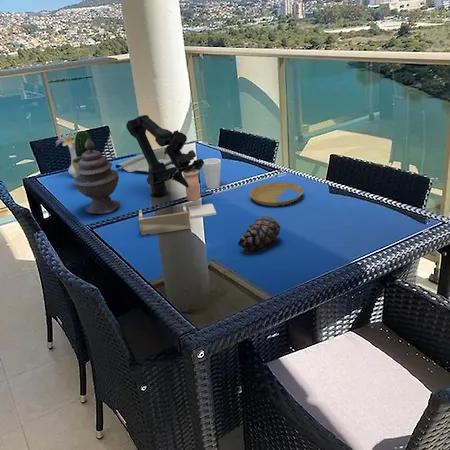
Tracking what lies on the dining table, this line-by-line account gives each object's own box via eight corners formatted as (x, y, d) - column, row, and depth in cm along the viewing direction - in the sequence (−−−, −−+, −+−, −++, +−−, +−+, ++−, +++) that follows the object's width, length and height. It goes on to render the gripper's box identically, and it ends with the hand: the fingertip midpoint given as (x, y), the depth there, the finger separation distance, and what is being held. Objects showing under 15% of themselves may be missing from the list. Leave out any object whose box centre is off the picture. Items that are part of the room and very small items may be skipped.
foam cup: (220, 189, 234) (218, 164, 228) (201, 189, 236) (199, 164, 230) (224, 183, 242) (222, 158, 237) (206, 183, 244) (204, 158, 239)
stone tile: (188, 209, 214) (188, 206, 214) (212, 205, 216) (212, 203, 215) (191, 218, 205) (190, 216, 204) (216, 214, 206) (216, 212, 206)
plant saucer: (267, 213, 204) (267, 205, 203) (240, 196, 224) (239, 190, 222) (313, 199, 213) (313, 192, 212) (283, 185, 233) (283, 178, 232)
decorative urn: (109, 196, 236) (95, 128, 219) (133, 207, 223) (120, 136, 206) (73, 211, 224) (55, 140, 207) (95, 224, 211) (79, 150, 194)
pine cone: (234, 252, 174) (232, 227, 169) (262, 233, 186) (260, 209, 182) (258, 259, 168) (257, 233, 163) (285, 239, 180) (284, 214, 176)
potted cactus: (71, 189, 251) (58, 133, 239) (89, 180, 264) (77, 125, 252) (95, 191, 246) (83, 134, 233) (112, 181, 258) (102, 126, 246)
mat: (148, 176, 264) (147, 168, 262) (116, 172, 275) (114, 164, 273) (173, 163, 281) (172, 155, 280) (142, 160, 293) (140, 152, 291)
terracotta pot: (185, 201, 209) (182, 174, 204) (186, 196, 215) (183, 169, 210) (200, 200, 209) (197, 173, 203) (201, 195, 215) (198, 168, 209)
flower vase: (98, 172, 275) (90, 129, 265) (69, 182, 263) (59, 137, 253) (86, 169, 283) (78, 127, 273) (58, 178, 272) (48, 134, 262)
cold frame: (140, 218, 209) (137, 203, 206) (185, 212, 212) (184, 197, 209) (141, 235, 193) (138, 219, 190) (190, 228, 195) (188, 212, 192)
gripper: (164, 150, 200) (182, 181, 196) (199, 140, 210) (217, 169, 207) (156, 165, 209) (174, 194, 205) (190, 155, 219) (208, 182, 216)
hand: (194, 185), depth 208 cm, fingers closed on terracotta pot, 6 cm apart
